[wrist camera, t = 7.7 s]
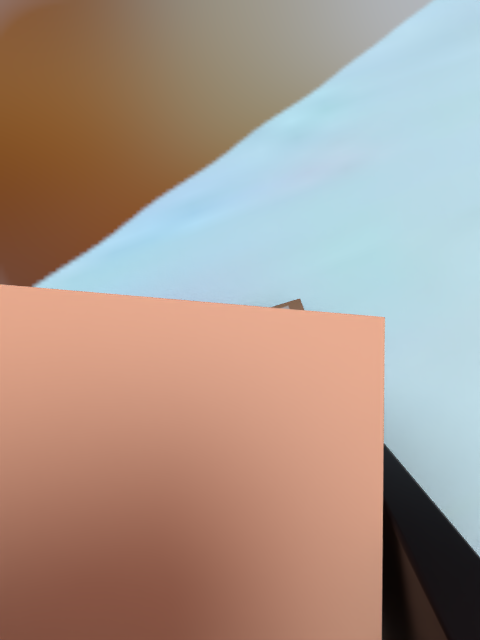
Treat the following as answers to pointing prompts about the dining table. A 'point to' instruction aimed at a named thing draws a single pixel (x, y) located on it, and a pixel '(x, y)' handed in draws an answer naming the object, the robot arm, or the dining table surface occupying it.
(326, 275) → the dining table surface
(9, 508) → the terracotta block
